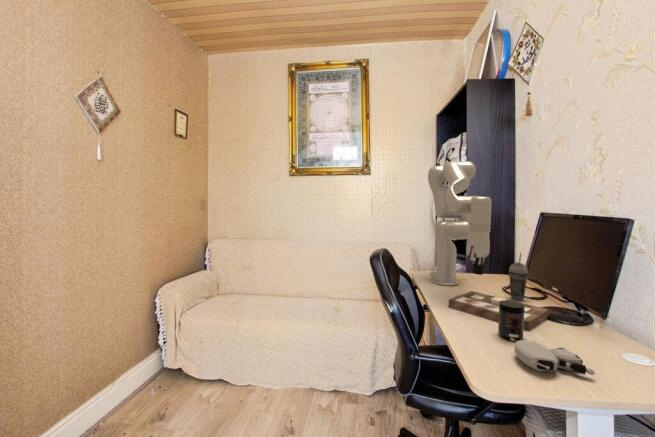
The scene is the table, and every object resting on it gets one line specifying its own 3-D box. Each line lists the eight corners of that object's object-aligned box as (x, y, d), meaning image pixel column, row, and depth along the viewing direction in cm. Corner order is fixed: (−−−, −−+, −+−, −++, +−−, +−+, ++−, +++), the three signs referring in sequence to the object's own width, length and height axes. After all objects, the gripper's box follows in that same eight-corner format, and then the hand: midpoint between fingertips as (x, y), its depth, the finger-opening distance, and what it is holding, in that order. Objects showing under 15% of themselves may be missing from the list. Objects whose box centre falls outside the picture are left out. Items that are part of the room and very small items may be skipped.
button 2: (513, 314, 110) (513, 308, 110) (518, 312, 113) (518, 305, 112) (526, 318, 107) (526, 311, 107) (530, 315, 110) (530, 308, 109)
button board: (448, 307, 121) (448, 298, 120) (471, 297, 132) (471, 290, 131) (529, 331, 98) (529, 321, 98) (548, 317, 109) (548, 308, 109)
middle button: (490, 305, 116) (491, 299, 116) (495, 303, 119) (495, 296, 119) (501, 308, 113) (502, 301, 113) (506, 306, 116) (506, 299, 116)
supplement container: (517, 332, 97) (518, 300, 97) (527, 342, 91) (529, 308, 90) (494, 331, 98) (495, 299, 98) (503, 341, 92) (504, 307, 91)
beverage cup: (521, 297, 133) (523, 251, 131) (531, 302, 125) (533, 254, 124) (504, 296, 133) (505, 250, 132) (512, 302, 126) (514, 253, 125)
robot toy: (566, 359, 83) (506, 351, 86) (568, 343, 83) (508, 335, 85) (597, 387, 71) (527, 376, 74) (600, 368, 71) (529, 358, 73)
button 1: (470, 303, 123) (470, 296, 123) (474, 300, 125) (475, 294, 125) (480, 305, 120) (480, 299, 120) (484, 303, 122) (485, 297, 122)
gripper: (479, 226, 128) (477, 269, 129) (460, 228, 119) (459, 275, 120) (498, 227, 122) (496, 272, 124) (480, 230, 113) (478, 279, 114)
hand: (478, 273), depth 122 cm, fingers closed
